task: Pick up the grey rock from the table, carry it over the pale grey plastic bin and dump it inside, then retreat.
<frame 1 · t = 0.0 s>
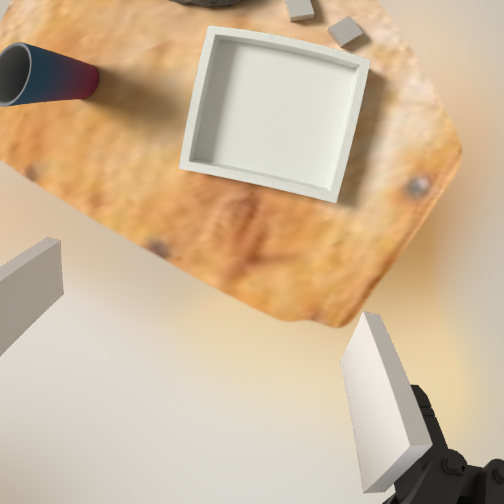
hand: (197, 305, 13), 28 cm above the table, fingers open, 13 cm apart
chip b: (343, 34, 31), on the table
bin: (274, 110, 35), on the table
chip a: (297, 8, 30), on the table
cup: (84, 81, 35), on the table
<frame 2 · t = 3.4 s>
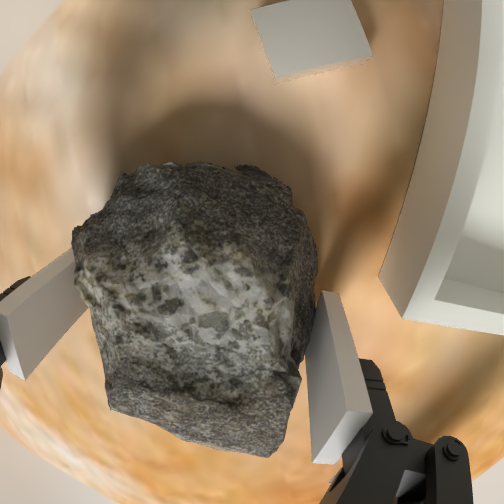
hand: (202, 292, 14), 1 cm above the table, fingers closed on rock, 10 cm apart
rock: (223, 289, 15), on the table, touching gripper
chip a: (308, 43, 11), on the table
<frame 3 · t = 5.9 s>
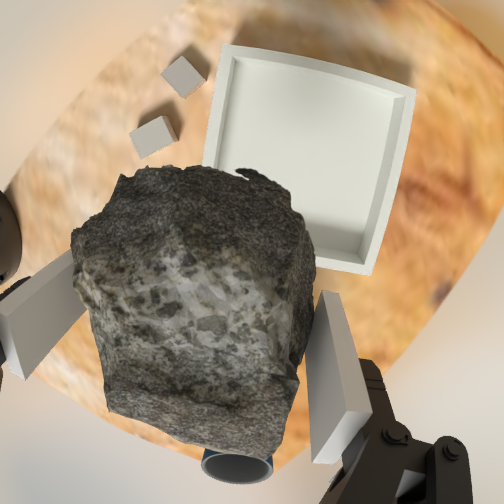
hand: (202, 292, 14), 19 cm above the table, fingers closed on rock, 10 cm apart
chip b: (186, 78, 27), on the table
bin: (301, 158, 29), on the table
rock: (221, 291, 15), point 17 cm above the table, touching gripper
chip a: (157, 136, 29), on the table
cup: (246, 368, 39), on the table
when the fingers open (5 cm above the table, at t = 8.3 s): rock drops 3 cm, resting on bin.
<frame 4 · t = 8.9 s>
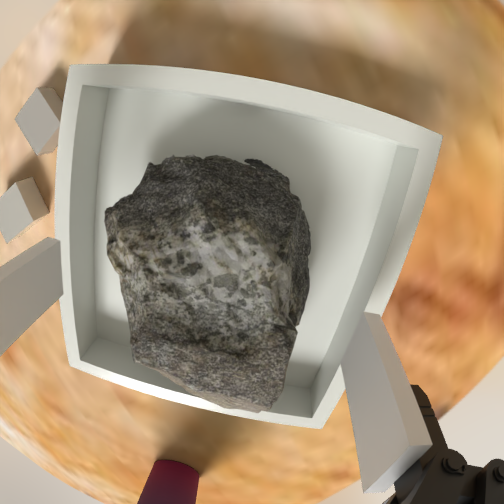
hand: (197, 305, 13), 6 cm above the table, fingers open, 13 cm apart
chip b: (54, 119, 16), on the table
bin: (220, 252, 18), on the table
rock: (230, 266, 18), point 1 cm above the table, touching bin
chip a: (28, 205, 18), on the table
cup: (176, 470, 28), on the table
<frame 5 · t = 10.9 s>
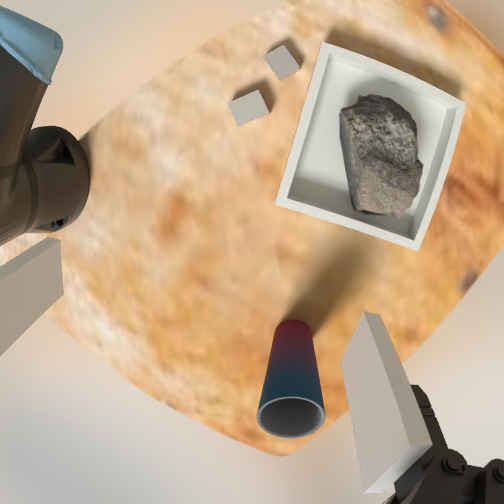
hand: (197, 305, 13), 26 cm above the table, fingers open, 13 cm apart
chip b: (282, 65, 31), on the table
bin: (370, 146, 33), on the table
rock: (377, 153, 33), point 1 cm above the table, touching bin
chip a: (250, 109, 34), on the table
cup: (292, 334, 43), on the table
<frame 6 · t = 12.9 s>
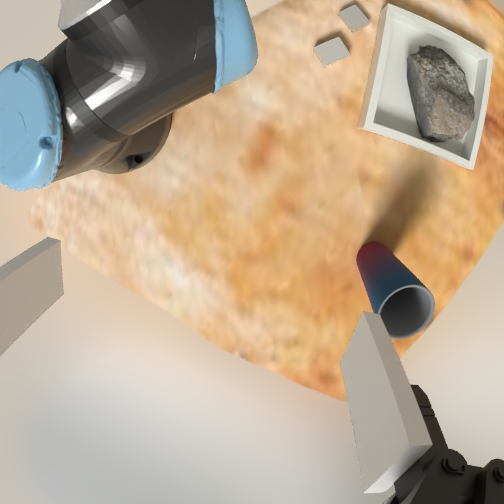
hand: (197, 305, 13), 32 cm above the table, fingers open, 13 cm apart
chip b: (352, 20, 33), on the table
bin: (426, 87, 35), on the table
rock: (433, 93, 35), point 1 cm above the table, touching bin
chip a: (330, 53, 35), on the table
cup: (372, 257, 45), on the table
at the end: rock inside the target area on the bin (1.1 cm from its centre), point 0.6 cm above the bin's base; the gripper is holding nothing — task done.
